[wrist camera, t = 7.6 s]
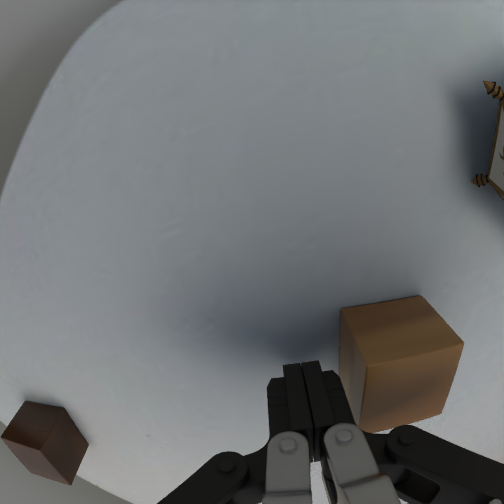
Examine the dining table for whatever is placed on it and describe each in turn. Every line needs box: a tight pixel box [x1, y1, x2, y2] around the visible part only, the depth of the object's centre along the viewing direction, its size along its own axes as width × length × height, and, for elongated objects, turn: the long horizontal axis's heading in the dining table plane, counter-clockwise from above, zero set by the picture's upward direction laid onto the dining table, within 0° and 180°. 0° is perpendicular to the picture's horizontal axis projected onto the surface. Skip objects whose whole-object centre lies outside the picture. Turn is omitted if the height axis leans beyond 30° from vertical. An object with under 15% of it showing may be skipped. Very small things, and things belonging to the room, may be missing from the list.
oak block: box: [339, 296, 464, 433], centre depth 12 cm, size 4×4×4 cm
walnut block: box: [1, 401, 89, 485], centre depth 15 cm, size 4×4×4 cm
